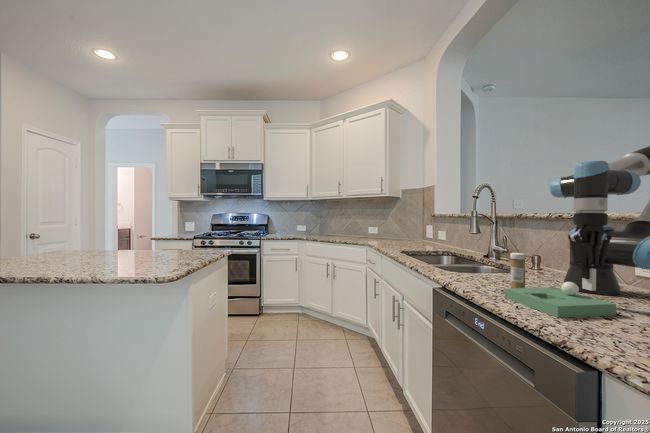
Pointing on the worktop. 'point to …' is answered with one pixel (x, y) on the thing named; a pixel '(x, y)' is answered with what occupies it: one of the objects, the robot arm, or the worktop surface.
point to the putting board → (560, 302)
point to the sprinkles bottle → (517, 270)
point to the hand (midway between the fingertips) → (588, 289)
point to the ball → (570, 288)
